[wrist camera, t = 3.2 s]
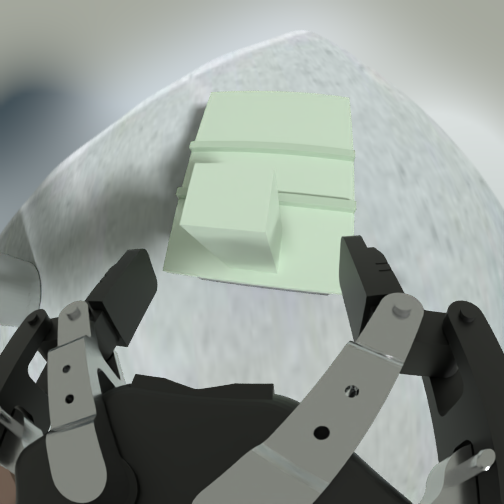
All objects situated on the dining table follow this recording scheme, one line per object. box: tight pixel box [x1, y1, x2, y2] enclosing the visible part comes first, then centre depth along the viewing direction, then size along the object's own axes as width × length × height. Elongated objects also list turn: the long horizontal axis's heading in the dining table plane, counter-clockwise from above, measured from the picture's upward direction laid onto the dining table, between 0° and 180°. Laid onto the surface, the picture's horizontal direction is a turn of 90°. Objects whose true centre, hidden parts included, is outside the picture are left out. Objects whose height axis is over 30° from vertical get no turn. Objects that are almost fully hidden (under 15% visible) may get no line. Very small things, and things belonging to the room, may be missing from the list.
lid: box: [163, 91, 356, 295], centre depth 15 cm, size 12×16×9 cm
